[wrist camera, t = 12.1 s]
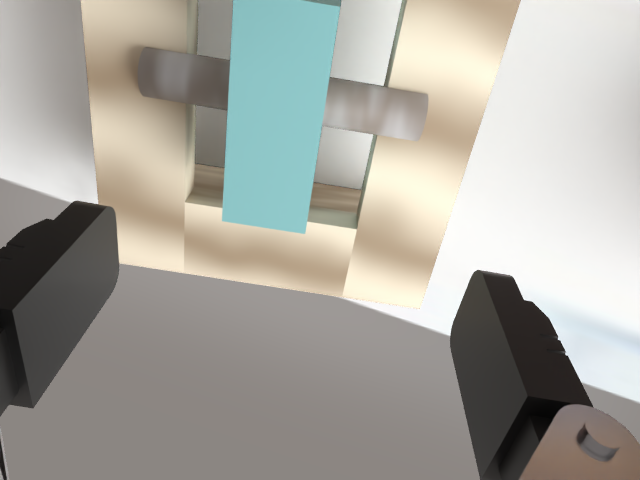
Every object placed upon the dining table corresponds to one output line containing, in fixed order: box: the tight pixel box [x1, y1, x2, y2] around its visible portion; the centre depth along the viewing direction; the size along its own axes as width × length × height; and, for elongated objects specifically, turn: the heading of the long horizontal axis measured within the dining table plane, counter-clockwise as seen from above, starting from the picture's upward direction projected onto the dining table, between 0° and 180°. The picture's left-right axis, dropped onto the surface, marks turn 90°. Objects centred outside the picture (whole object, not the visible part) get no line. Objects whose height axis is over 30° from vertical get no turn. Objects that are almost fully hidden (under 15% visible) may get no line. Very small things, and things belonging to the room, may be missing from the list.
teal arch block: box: [222, 0, 341, 234], centre depth 27 cm, size 10×4×12 cm, turn 172°
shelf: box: [81, 0, 521, 309], centre depth 30 cm, size 24×20×13 cm
